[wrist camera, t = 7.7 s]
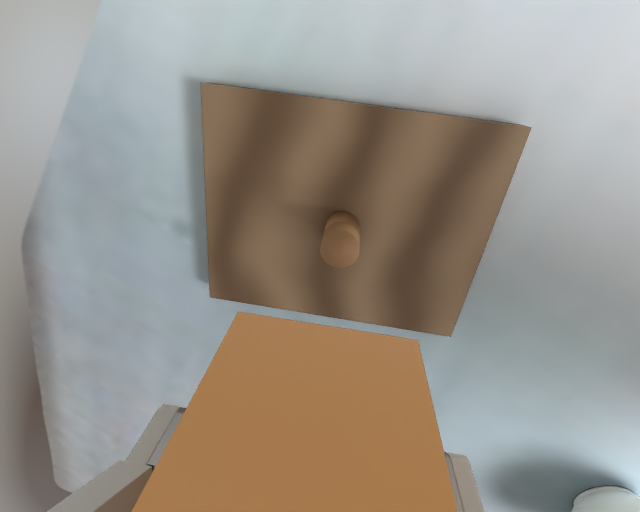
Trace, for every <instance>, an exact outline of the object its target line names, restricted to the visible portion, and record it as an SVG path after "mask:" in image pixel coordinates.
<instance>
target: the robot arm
mask: <svg viewBox="0 0 640 512" xmlns="http://www.w3.org/2000/svg"><path fill="white" fill-rule="evenodd" d="M185 410H186V408H182V407H178V406H172V405H166V404H163V405H162V406H161V407H160V408H159V409H158V410H157V411H156V413H155V415H154V416H153V418H152V419H151V421H150V423H149V424H148V426H147V427H146V429H145V431H144V432H143V434H142V435H141V437H140V439H139V440H138V442H137V443H136V445H135V447H134V448H133V450H132V451H131V453H130V455H129V456H128V458H127V459H126V461H121V460H120V461H118V462H117V463H116V464H114V465H113V466H111V467H110V468H108V469H107V470H106V471H104V472H103V473H101V474H100V475H98V476H97V477H96V478H94V479H93V480H91V481H90V482H88V483H87V484H85V485H84V486H83V487H81V488H80V489H78V490H77V491H75V492H74V493H73V494H71V495H70V496H68V497H67V498H65V499H64V500H63V501H61V502H60V503H58V504H57V505H55V506H54V507H53V508H51V509H50V510H48V511H47V512H132V510H133V508H134V506H135V504H136V502H137V500H138V499H139V497H140V495H141V493H142V491H143V489H144V487H145V485H146V484H147V482H148V480H149V478H150V476H151V474H152V472H153V470H154V469H155V467H156V465H157V463H158V461H159V459H160V457H161V455H162V454H163V452H164V450H165V448H166V446H167V444H168V442H169V440H170V439H171V437H172V435H173V433H174V431H175V429H176V427H177V425H178V424H179V422H180V420H181V418H182V416H183V414H184V412H185ZM444 454H445V459H446V463H447V467H448V472H449V476H450V480H451V484H452V489H453V493H454V497H455V502H456V506H457V510H458V512H485V511H484V508H483V505H482V501H481V498H480V495H479V491H478V488H477V485H476V481H475V478H474V475H473V471H472V468H471V465H470V461H469V460H468V458H467V457H466V456H464V455H459V454H452V453H446V452H444Z"/></svg>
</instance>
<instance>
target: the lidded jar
mask: <svg viewBox="0 0 640 512" xmlns="http://www.w3.org/2000/svg"><path fill="white" fill-rule="evenodd" d="M571 512H640V496H637V495H635V494H634V493H633V492H632V491H630V490H628V489H625V488H622V487H617V486H601V487H595V488H592V489H588V490H586V491H584V492H582V493H580V494H579V495H578V496H577V497H576V498H575V499H574V501H573V509H572V511H571Z"/></svg>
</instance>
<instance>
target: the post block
mask: <svg viewBox="0 0 640 512" xmlns="http://www.w3.org/2000/svg"><path fill="white" fill-rule="evenodd" d="M201 105H202V128H203V151H204V174H205V197H206V220H207V243H208V266H209V289H210V297H211V298H217V299H223V300H230V301H236V302H242V303H248V304H254V305H260V306H266V307H272V308H278V309H284V310H291V311H297V312H303V313H309V314H315V315H321V316H327V317H333V318H339V319H345V320H352V321H358V322H364V323H370V324H376V325H382V326H388V327H394V328H400V329H406V330H413V331H419V332H425V333H431V334H437V335H443V336H449V337H451V335H452V332H453V329H454V327H455V324H456V322H457V319H458V316H459V314H460V311H461V309H462V306H463V303H464V301H465V298H466V296H467V293H468V291H469V288H470V285H471V283H472V280H473V278H474V275H475V272H476V270H477V267H478V265H479V262H480V260H481V257H482V254H483V252H484V249H485V247H486V244H487V241H488V239H489V236H490V234H491V231H492V229H493V226H494V223H495V221H496V218H497V216H498V213H499V210H500V208H501V205H502V203H503V200H504V198H505V195H506V192H507V190H508V187H509V185H510V182H511V179H512V177H513V174H514V172H515V169H516V166H517V164H518V161H519V159H520V156H521V154H522V151H523V148H524V146H525V143H526V141H527V138H528V135H529V133H530V130H531V127H527V126H523V125H518V124H511V123H503V122H496V121H488V120H481V119H474V118H466V117H459V116H451V115H444V114H437V113H429V112H422V111H414V110H407V109H399V108H392V107H385V106H377V105H370V104H362V103H355V102H348V101H340V100H333V99H325V98H318V97H310V96H303V95H296V94H288V93H281V92H273V91H266V90H259V89H251V88H244V87H236V86H229V85H221V84H214V83H201Z"/></svg>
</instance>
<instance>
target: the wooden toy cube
mask: <svg viewBox="0 0 640 512" xmlns="http://www.w3.org/2000/svg"><path fill="white" fill-rule="evenodd" d="M132 512H458V510H457V506H456V502H455V497H454V493H453V489H452V484H451V480H450V476H449V472H448V467H447V463H446V459H445V454H444V450H443V446H442V441H441V437H440V433H439V429H438V424H437V420H436V416H435V411H434V407H433V403H432V399H431V394H430V390H429V386H428V381H427V377H426V373H425V369H424V364H423V360H422V356H421V351H420V347H419V343H418V340H414V339H408V338H402V337H395V336H389V335H383V334H376V333H370V332H364V331H358V330H351V329H345V328H339V327H332V326H326V325H320V324H313V323H307V322H301V321H294V320H288V319H282V318H275V317H269V316H263V315H256V314H250V313H244V312H238V313H237V315H236V317H235V318H234V320H233V322H232V324H231V326H230V328H229V330H228V332H227V333H226V335H225V337H224V339H223V341H222V343H221V345H220V347H219V348H218V350H217V352H216V354H215V356H214V358H213V360H212V362H211V363H210V365H209V367H208V369H207V371H206V373H205V375H204V377H203V378H202V380H201V382H200V384H199V386H198V388H197V390H196V392H195V393H194V395H193V397H192V399H191V401H190V403H189V405H188V407H187V408H186V410H185V412H184V414H183V416H182V418H181V420H180V422H179V424H178V425H177V427H176V429H175V431H174V433H173V435H172V437H171V439H170V440H169V442H168V444H167V446H166V448H165V450H164V452H163V454H162V455H161V457H160V459H159V461H158V463H157V465H156V467H155V469H154V470H153V472H152V474H151V476H150V478H149V480H148V482H147V484H146V485H145V487H144V489H143V491H142V493H141V495H140V497H139V499H138V500H137V502H136V504H135V506H134V508H133V510H132Z"/></svg>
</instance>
